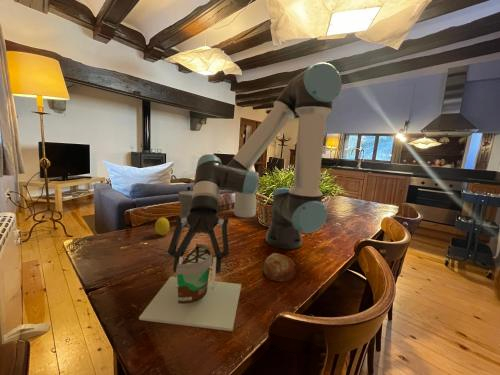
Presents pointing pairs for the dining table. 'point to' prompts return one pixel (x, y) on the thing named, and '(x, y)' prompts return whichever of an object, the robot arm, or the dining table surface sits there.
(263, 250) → the dining table surface
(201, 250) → the food container
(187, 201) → the coffeepot
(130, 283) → the dining table surface
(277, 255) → the bread roll
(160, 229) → the lemon
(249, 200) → the cylinder vase
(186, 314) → the mat
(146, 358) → the dining table surface
